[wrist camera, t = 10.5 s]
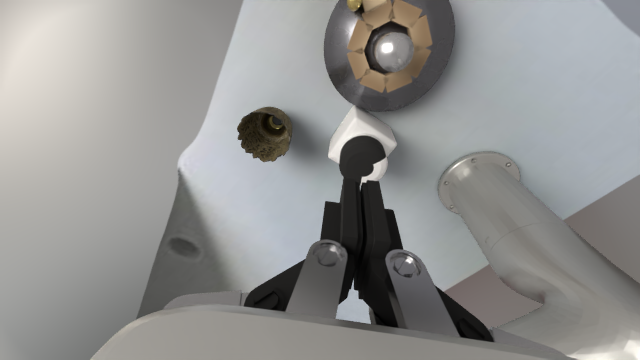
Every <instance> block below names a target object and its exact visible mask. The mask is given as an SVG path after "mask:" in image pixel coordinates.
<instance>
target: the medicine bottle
mask: <svg viewBox="0 0 640 360" xmlns="http://www.w3.org/2000/svg"><path fill="white" fill-rule="evenodd" d="M396 146H397V142H396V140H395V137H394V135H393V133H392V130H391V128H390V127H389V126H388V125H386V124H385V123H383V122H382V121H380V120H379V119H377V118H376V117H374V116H373V115H371V114H370V113H368V112H367V111H365V110H364V109H362V108H360V107H357V106H355V105H353V107H352V108H351V110H350V111H349V113H348V114H347V115H346V117H345V118H344V120H343V121H342V123H341V124H340V126H339V127H338V129H337V130H336V132H335V133H334V135H333V136H332V137H331V140H330V147H329V153H328V157H329V158H330V159H332V160H333V161H335V162H337V163H338V164H339V168H340V171H341V174H342V175H343V177H348V178H355V181H357V182H359V185H362V182H365V183H366V181H367V180H373V181H378V180H379V179H381V178H382V177H383V175H384V174H385V172H386V170H387V166H388V161H387V157H388V155H389V154H390V153H391V152H392V151H393V150H394V149H395V147H396Z"/></svg>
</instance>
